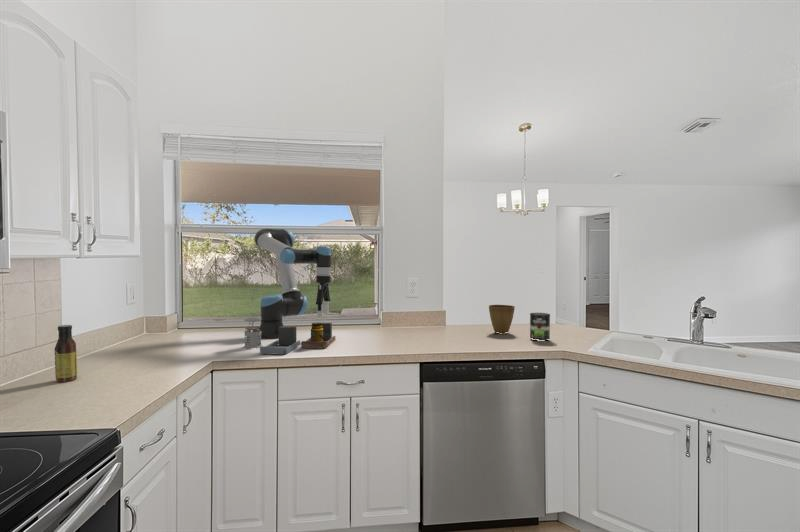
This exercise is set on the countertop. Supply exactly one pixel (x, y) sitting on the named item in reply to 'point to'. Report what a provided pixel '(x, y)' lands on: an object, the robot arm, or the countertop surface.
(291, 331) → the grey frame
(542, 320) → the coffee can
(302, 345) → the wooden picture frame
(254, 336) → the french press
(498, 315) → the plant pot
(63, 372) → the sauce bottle
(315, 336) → the condiment
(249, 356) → the countertop surface
